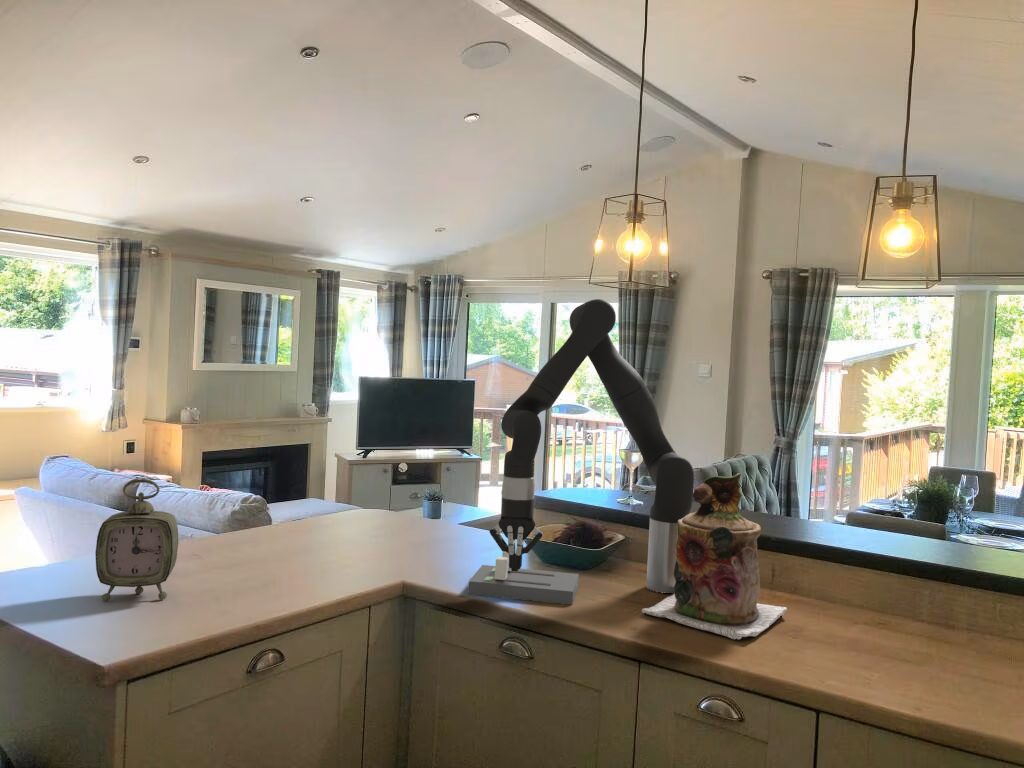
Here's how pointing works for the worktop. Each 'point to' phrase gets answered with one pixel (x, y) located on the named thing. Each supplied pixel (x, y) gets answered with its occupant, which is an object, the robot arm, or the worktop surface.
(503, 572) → the block
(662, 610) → the cookie jar
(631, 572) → the worktop surface
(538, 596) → the slider control panel
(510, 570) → the block
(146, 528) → the tabletop clock
